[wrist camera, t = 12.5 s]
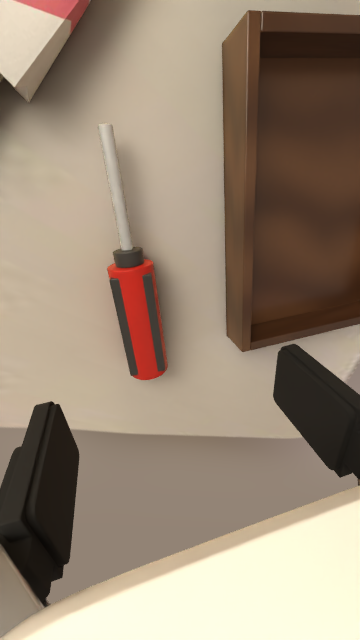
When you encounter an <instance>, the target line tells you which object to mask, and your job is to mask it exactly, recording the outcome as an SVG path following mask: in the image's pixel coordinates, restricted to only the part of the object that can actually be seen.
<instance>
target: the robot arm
mask: <svg viewBox="0 0 360 640" xmlns="http://www.w3.org/2000/svg"><path fill="white" fill-rule="evenodd" d="M273 397H274V400H275V402H276V404H277V405H278V406H279V407H280V409H281V410H282V411H283V412H284V414H285V415H286V416H287V417H288V419H289V420H290V421H291V422H292V424H293V425H294V426H295V427H296V429H297V430H298V431H299V432H300V434H301V435H302V436H303V437H304V438H305V440H306V441H307V442H308V443H309V445H310V446H311V447H312V448H313V450H314V451H315V452H316V453H317V455H318V456H319V457H320V458H321V460H322V461H323V462H324V463H325V465H326V466H327V467H328V468H329V469H331V470H334V471H335V472H336V473H337V475H338V476H339V477H343V476H345V475H349V474H351V473H352V472H353V473H354V475H355V476H356V477H357V478H358V486H357V487H354V488H351V489H348V490H345V491H343V492H340V493H337V494H335V495H332V496H329V497H326V498H323V499H321V500H318V501H315V502H312V503H310V504H307V505H304V506H301V507H299V508H296V509H293V510H291V511H288V512H285V513H282V514H280V515H277V516H275V517H272V518H269V519H266V520H264V521H261V522H258V523H256V524H253V525H250V526H248V527H245V528H242V529H239V530H237V531H234V532H232V533H229V534H226V535H223V536H221V537H218V538H216V539H213V540H210V541H207V542H205V543H202V544H199V545H197V546H194V547H192V548H189V549H186V550H184V551H181V552H178V553H176V554H173V555H170V556H168V557H165V558H162V559H160V560H157V561H155V562H152V563H149V564H147V565H144V566H141V567H139V568H136V569H133V570H131V571H129V572H126V573H123V574H121V575H118V576H116V577H114V578H111V579H108V580H106V581H104V582H101V583H99V584H96V585H93V586H91V587H88V588H86V589H83V590H81V591H79V592H77V593H75V594H72V595H70V596H68V597H66V598H64V599H62V600H60V601H57V602H55V603H53V604H50V603H49V601H48V600H47V598H46V597H47V596H48V595H49V593H50V587H51V582H52V581H54V580H57V579H60V578H62V576H63V566H64V565H65V564H67V563H68V562H69V559H70V550H71V540H72V529H73V519H74V507H75V497H76V487H77V476H78V465H79V451H78V448H77V445H76V443H75V440H74V438H73V436H72V433H71V431H70V428H69V426H68V424H67V421H66V419H65V416H64V414H63V412H62V409H61V407H60V405H59V404H56V405H55V404H54V403H53V402H47V403H43V404H39V405H36V406H35V407H34V410H33V413H32V416H31V419H30V422H29V425H28V428H27V432H26V435H25V438H24V441H23V444H22V446H21V447H18V448H16V449H15V450H14V452H13V454H12V456H11V459H10V462H9V465H8V468H7V470H6V474H5V476H4V479H3V482H2V485H1V488H0V640H360V395H359V394H358V393H356V392H355V391H354V390H353V389H351V388H350V387H349V386H348V385H346V384H345V383H344V382H343V381H342V380H340V379H339V378H338V377H337V376H335V375H334V374H333V373H332V372H330V371H329V370H328V369H327V368H325V367H324V366H323V365H322V364H320V363H319V362H318V361H317V360H315V359H314V358H313V357H312V356H310V355H309V354H308V353H307V352H305V351H304V350H303V349H302V348H300V347H299V346H298V345H296V344H292V345H287V346H283V347H282V348H281V350H280V351H279V352H278V357H277V366H276V375H275V384H274V393H273Z"/></svg>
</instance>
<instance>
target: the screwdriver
mask: <svg viewBox="0 0 360 640" xmlns="http://www.w3.org/2000/svg"><path fill="white" fill-rule="evenodd" d="M98 130H99V135H100V140H101V146H102V151H103V156H104V161H105V166H106V172H107V177H108V182H109V187H110V192H111V198H112V203H113V208H114V213H115V218H116V224H117V229H118V234H119V239H120V244H121V249H118V250H116V251H114V252H113V255H114V260H115V263H114V264H112V265H110V266H109V267H108V268H107V270H108V274H109V279H110V285H111V289H112V294H113V298H114V302H115V307H116V311H117V316H118V320H119V325H120V329H121V334H122V338H123V343H124V347H125V352H126V356H127V360H128V365H129V369H130V374H131V376H133V377H135V378H136V379H140V380H150V379H154V378H157V377H159V376H161V375H162V374H163V373H164V372H165V371H166V370H167V366H168V364H167V357H166V350H165V343H164V336H163V329H162V322H161V315H160V308H159V301H158V294H157V287H156V280H155V273H154V266H153V262H152V261H151V260H148V259H144V257H143V250H142V248H140V247H133V244H132V238H131V232H130V226H129V221H128V215H127V209H126V203H125V197H124V191H123V186H122V180H121V174H120V168H119V162H118V157H117V151H116V145H115V139H114V133H113V128H112V125H111V124H109V123H103V124H99V125H98Z"/></svg>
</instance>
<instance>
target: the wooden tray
mask: <svg viewBox="0 0 360 640" xmlns="http://www.w3.org/2000/svg"><path fill="white" fill-rule="evenodd" d="M222 65H223V130H224V194H225V259H226V324H227V336H228V337H229V338H230V339H231V340H232V341H233V343H234V344H235V345H236V346H237V347H238V348H239V349H240V350H241V351H242V352H245V351H249V350H254V349H258V348H262V347H266V346H270V345H274V344H279V343H283V342H287V341H291V340H295V339H299V338H303V337H307V336H311V335H316V334H320V333H324V332H328V331H332V330H336V329H340V328H344V327H348V326H352V325H357V324H360V15H342V14H319V13H295V12H272V11H262V12H261V11H250V10H249V11H247V12H246V14H245V15H244V16H243V17H242V19H241V20H240V21H239V23H238V24H237V25H236V27H235V28H234V29H233V31H232V32H231V33H230V34H229V36H228V37H227V38H226V40H225V41H224V42H223V43H222Z"/></svg>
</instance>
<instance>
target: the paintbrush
mask: <svg viewBox="0 0 360 640" xmlns="http://www.w3.org/2000/svg"><path fill="white" fill-rule="evenodd" d="M90 1H91V0H0V82H1V81H2V79H3V78H5V79H6V80H7V81H8V82H9V83H10V84H11V85H12V86H13V87H14V88H15V89H16V91H17V92H18V93H19V94H20V95H21V96H22V97H23V98H24V99H25V100H26V101H27V102H28V103H29V102H30V100H31V98H32V97H33V95H34V93H35V92H36V90H37V88H38V87H39V85H40V83H41V82H42V80H43V79H44V77H45V75H46V74H47V72H48V70H49V69H50V67H51V65H52V64H53V62H54V60H55V59H56V57H57V56H58V54H59V52H60V51H61V49H62V47H63V46H64V44H65V42H66V41H67V39H68V38H69V36H70V34H71V33H72V31H73V29H74V28H75V26H76V24H77V23H78V21H79V19H80V18H81V16H82V15H83V13H84V11H85V10H86V8H87V6H88V5H89V3H90Z"/></svg>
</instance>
